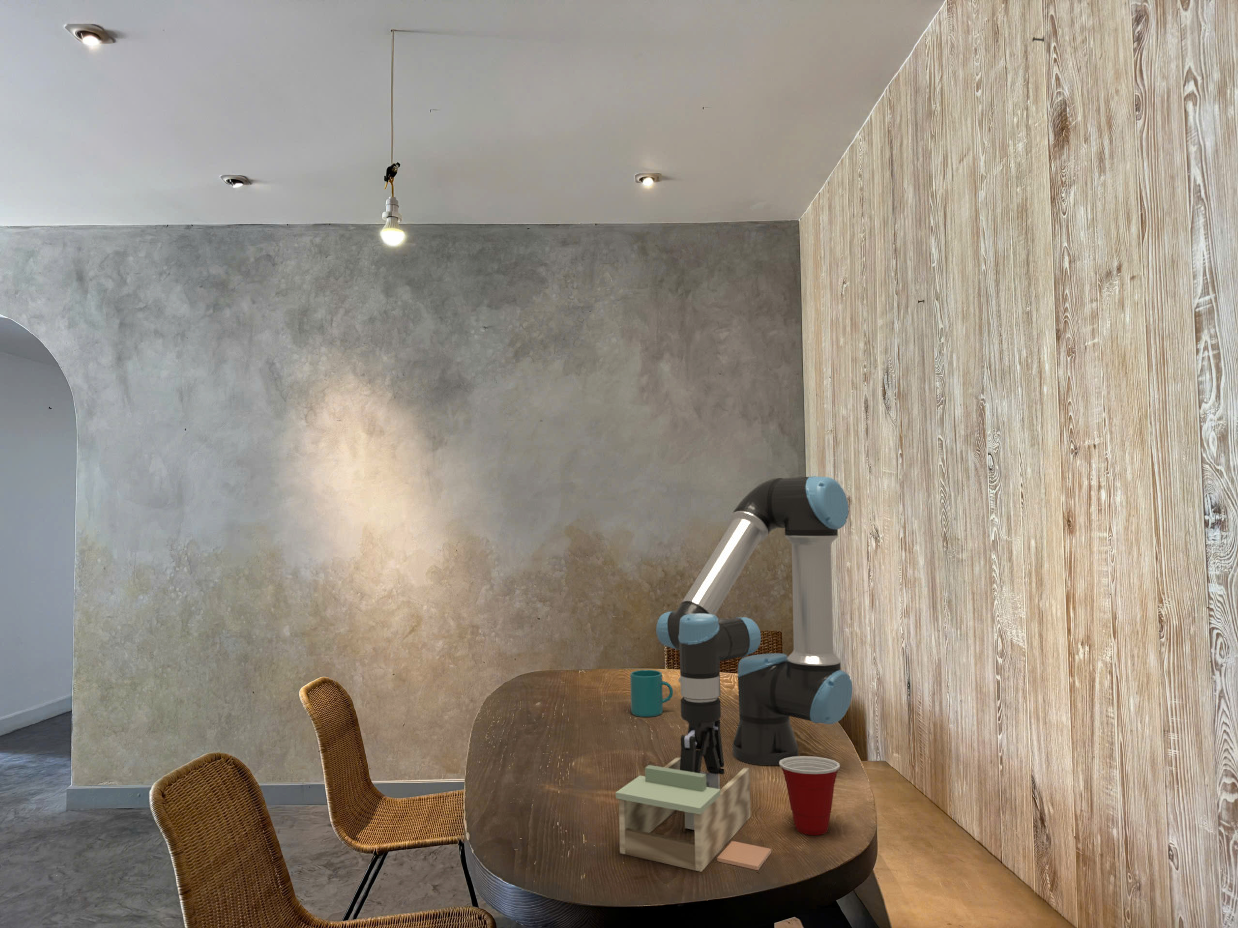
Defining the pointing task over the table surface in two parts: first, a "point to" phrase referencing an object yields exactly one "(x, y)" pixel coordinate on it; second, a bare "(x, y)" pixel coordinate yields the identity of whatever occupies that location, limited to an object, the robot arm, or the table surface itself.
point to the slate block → (711, 780)
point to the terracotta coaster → (744, 855)
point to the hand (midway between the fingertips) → (703, 818)
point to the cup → (647, 693)
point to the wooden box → (709, 826)
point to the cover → (670, 790)
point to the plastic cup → (810, 791)
